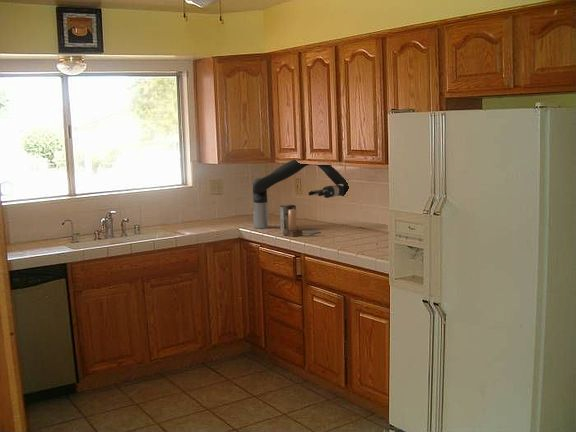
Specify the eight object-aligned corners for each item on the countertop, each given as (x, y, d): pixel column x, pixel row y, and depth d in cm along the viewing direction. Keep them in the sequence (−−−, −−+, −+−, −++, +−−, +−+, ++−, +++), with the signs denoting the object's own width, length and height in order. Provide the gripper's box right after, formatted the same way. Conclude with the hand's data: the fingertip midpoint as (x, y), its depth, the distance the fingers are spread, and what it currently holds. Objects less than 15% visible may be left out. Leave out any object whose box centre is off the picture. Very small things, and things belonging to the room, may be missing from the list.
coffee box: (293, 228, 450) (292, 204, 447) (296, 229, 444) (296, 205, 442) (280, 229, 446) (279, 205, 444) (283, 231, 440) (283, 206, 438)
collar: (283, 235, 423) (283, 230, 422) (293, 233, 428) (292, 229, 428) (293, 236, 417) (292, 232, 416) (302, 235, 423) (302, 230, 422)
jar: (287, 235, 423) (286, 210, 420) (293, 234, 426) (292, 209, 424) (293, 236, 419) (292, 210, 417) (298, 235, 423) (297, 209, 420)
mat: (300, 233, 430) (300, 232, 429) (310, 231, 436) (310, 230, 436) (311, 234, 423) (311, 233, 423) (320, 232, 429) (320, 231, 429)
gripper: (322, 185, 449) (305, 187, 438) (338, 186, 439) (321, 188, 428) (322, 196, 450) (305, 199, 439) (339, 197, 440) (322, 200, 429)
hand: (313, 194), depth 433 cm, fingers open, 8 cm apart
